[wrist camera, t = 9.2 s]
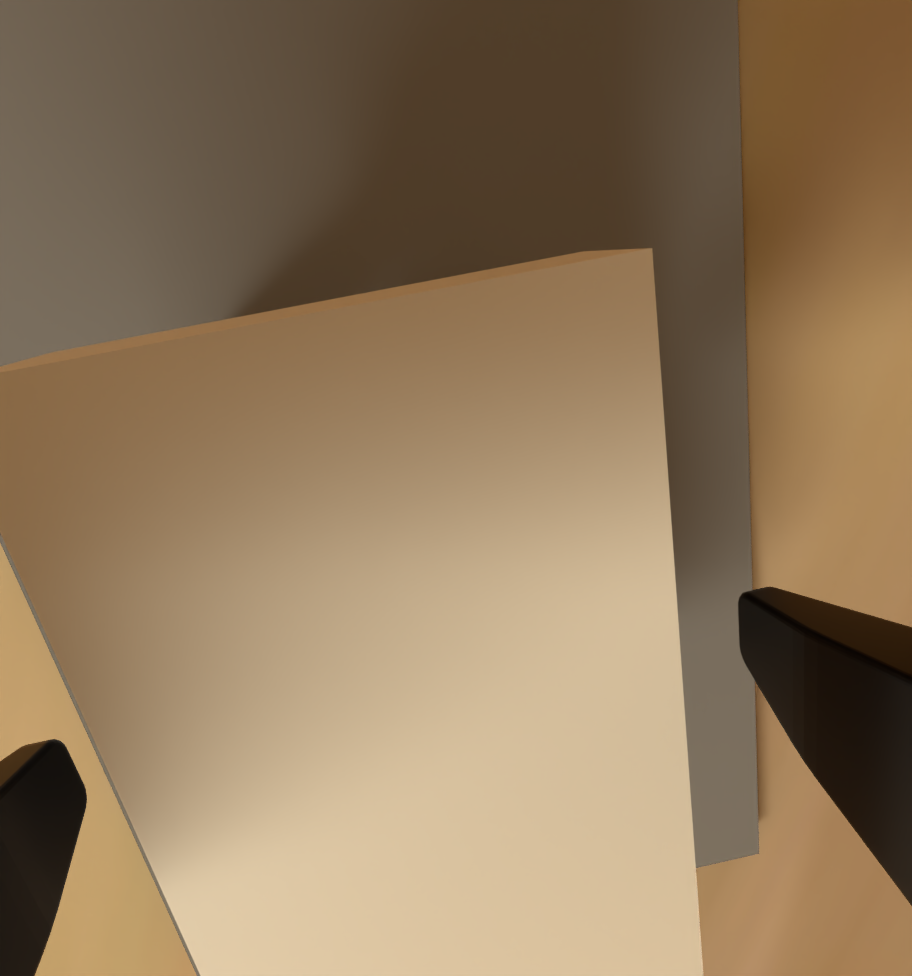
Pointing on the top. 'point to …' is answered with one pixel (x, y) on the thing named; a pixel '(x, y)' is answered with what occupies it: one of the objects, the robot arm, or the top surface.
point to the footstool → (379, 621)
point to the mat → (406, 220)
